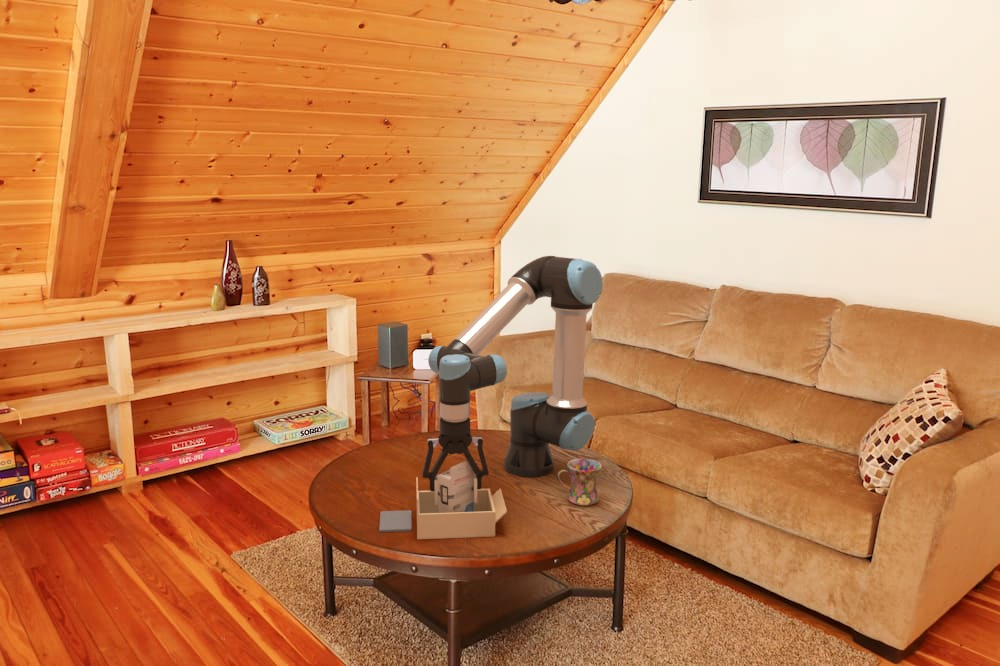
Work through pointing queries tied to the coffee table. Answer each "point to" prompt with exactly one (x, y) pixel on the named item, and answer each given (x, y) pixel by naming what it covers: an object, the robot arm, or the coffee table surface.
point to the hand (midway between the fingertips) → (455, 501)
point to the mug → (582, 481)
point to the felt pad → (395, 521)
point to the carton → (459, 516)
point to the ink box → (456, 489)
